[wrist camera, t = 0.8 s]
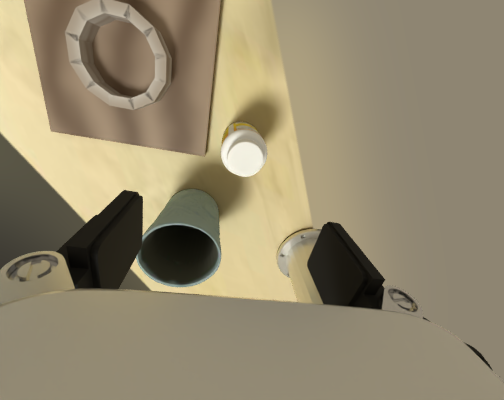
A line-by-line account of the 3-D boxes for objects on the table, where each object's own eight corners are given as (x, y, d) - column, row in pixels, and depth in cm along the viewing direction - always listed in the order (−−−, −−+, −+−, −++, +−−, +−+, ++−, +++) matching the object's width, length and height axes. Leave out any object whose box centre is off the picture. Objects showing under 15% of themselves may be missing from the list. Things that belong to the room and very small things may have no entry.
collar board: (223, -20, 24) (221, -37, 21) (205, 154, 33) (202, 161, 30) (16, -82, 21) (-23, -113, 18) (57, 129, 30) (35, 134, 26)
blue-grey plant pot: (165, 233, 39) (141, 287, 28) (160, 180, 34) (128, 222, 24) (222, 234, 40) (219, 287, 29) (224, 184, 35) (222, 225, 25)
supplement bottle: (233, 164, 34) (234, 191, 25) (215, 131, 32) (209, 148, 22) (265, 148, 33) (278, 170, 24) (249, 113, 31) (257, 123, 22)
